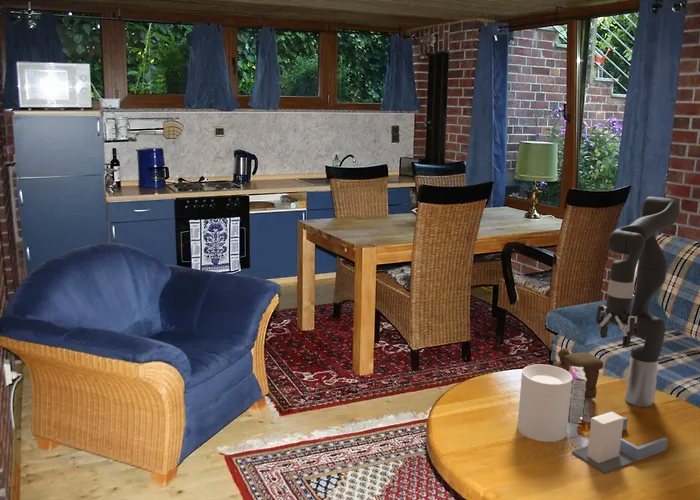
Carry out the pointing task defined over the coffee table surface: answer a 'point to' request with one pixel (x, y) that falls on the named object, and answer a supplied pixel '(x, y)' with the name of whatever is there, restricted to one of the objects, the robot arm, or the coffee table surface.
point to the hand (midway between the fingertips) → (614, 341)
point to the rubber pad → (605, 465)
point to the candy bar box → (577, 393)
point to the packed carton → (605, 437)
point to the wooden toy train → (585, 361)
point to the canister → (544, 402)
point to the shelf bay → (641, 447)
